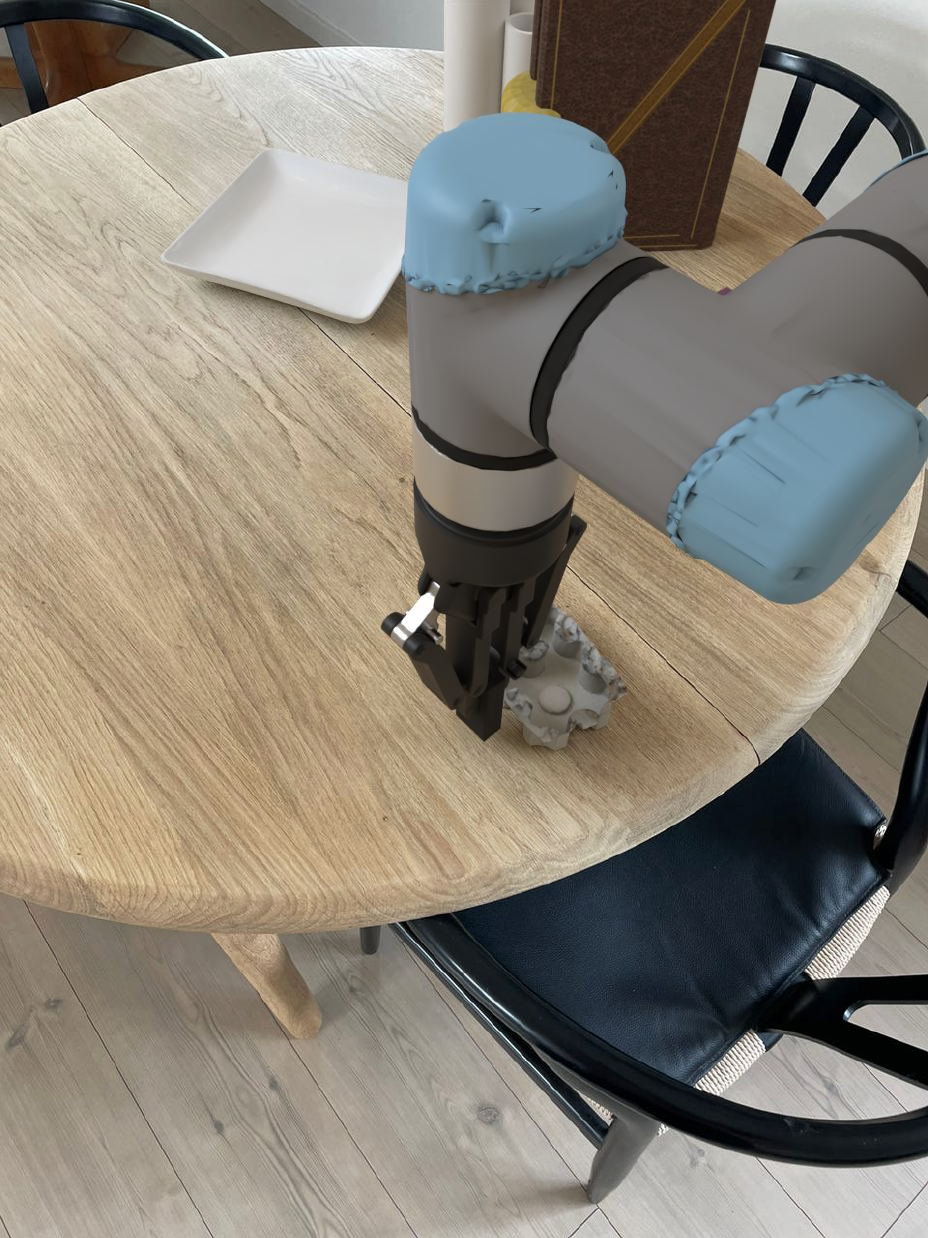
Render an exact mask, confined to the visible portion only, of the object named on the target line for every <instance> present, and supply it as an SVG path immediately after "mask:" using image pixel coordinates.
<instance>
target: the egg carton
mask: <svg viewBox="0 0 928 1238" xmlns="http://www.w3.org/2000/svg"><path fill="white" fill-rule="evenodd" d="M523 620H524V621H525V622H526V623H527V624H528V621H527V618H526V617H524V619H523ZM519 660H520V661H521V662H522V663H524V664H525V665H526V666H527V670H526V671H525V673H524V674H523V675H522V676H521V677H520V678H519V679H517V680H513V679H512V678H511V677H510V681H509V684H508V686H507V688H506V689H505V691H504V701H503V709H507V708H510V709H511V711H512V712H513V713H514V714H515V715H516V716H517V718H518V719H519V720H520V721H521V723H522V724H523V729H522V737H523V739H524V741H525V742H526V744H528V745H529V746H544V747H546V748H549V749H550V750H552V751H558V750H561V749H565V748H566V747H567V745H568V740H569V738H570V733H571V732H572V731H573V730H575V728H576V726H578V727H579V728H581V730H585V729H586V730H587V729H589V728H592V729H593V730H600V729H601V728H604V727H606V726H607V725H608V724H609V721H610V720H609V719H610V716H611V713H612V709H613V706H612V704H613V703H616V702H618V701H619V700H620V699H622V698H623V697H624V696H626V695H627V694H628V689H627V688H628V687H627V684H626V683H625V682H624V681H623V680H622V677H621V675H620V674H619V673H618V671H616V670H615V668H614V666H613V664H612V663H611V662H610V661H609V660H608V659H607V658H606V657H605V656H602V655H601V653H600V652H599V651H598V648H597V647H596V646H595V644H594V643H593V642H592V641H591V640H590V639H589V638H588V636H587V635H586V634H585V633H584V632H583V630H582V628H581V627H580V625H579V623H578V622H577V621H575V620H574V619H573V618H572V617H571V616H570V615H569V614H567V613H566V612H564V611H563V610H562V609H561V608H560V607H559V606H558V605H555V604H554V603H553V604H552V607H551V609H550V612H549V615H548V618H547V620H546V623H545V626H544V628H543V631H542V634H541V636H540V639H539V641H538V642H537V644H536V645H535V646H534V647H532V648H531V649H529V650H527V649H526V648H525V647H524V646H523V647H522V648H521V649H520V652H519Z"/></svg>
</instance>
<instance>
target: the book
mask: <svg viewBox="0 0 928 1238" xmlns="http://www.w3.org/2000/svg"><path fill="white" fill-rule="evenodd" d="M776 2H777V0H535V4H534V17H533V31H532V44H531V58H530V71H525V72H523V73H520V74H518V75H517V76H515V77H514V78H513V79H511V80H510V81H509V82H508V83H507V85H506V87H505V89H504V92H503V94H502V100H501V113H509V112H523V113H536V114H543V115H548V116H552V117H557V118H561V119H565V120H568V121H571V122H573V123H575V124H578V125H580V126H582V127H584V128H586V129H588V130H590V131H592V132H593V133H595V134H596V135H597V136H599V137H600V138H601V139H602V140H604V141H605V142H606V144H607V147H608V150H609V152H610V153H611V155H612V156H614V157H615V158H616V159H617V160H618V161H619V162H620V164H621V165H622V167H623V170H624V174H625V180H626V193H625V204H624V207H625V209H626V211H627V213H628V214H627V216H626V221H625V226H624V229H623V232H624V234H623V236H622V238H623V239H624V240H625V241H626V242H628V243H630V244H631V245H633V246H635V247H637V248H639V249H641V250H643V251H644V252H661V251H663V252H666V251H700V250H704V249H707V248H710V247H712V246H713V243H714V240H715V237H716V231H717V228H718V225H719V221H720V217H721V215H722V209H723V205H724V201H725V198H726V194H727V191H728V186H729V184H730V179H731V175H732V171H733V168H734V164H735V160H736V156H737V153H738V149H739V146H740V140H741V137H742V134H743V129H744V127H745V123H746V119H747V114H748V110H749V107H750V103H751V99H752V95H753V91H754V87H755V84H756V81H757V77H758V72H759V70H760V69H759V68H760V64H761V61H762V57H763V53H764V49H765V46H766V42H767V38H768V34H769V30H770V27H771V22H772V18H773V15H774V11H775V8H776V4H777V3H776Z"/></svg>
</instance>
